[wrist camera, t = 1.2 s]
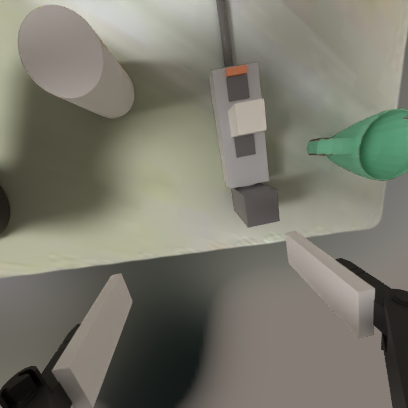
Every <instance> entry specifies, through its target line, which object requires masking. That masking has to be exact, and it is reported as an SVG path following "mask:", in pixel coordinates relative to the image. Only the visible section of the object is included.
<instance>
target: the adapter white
mask: <svg viewBox="0 0 408 408" xmlns="http://www.w3.org/2000/svg"><path fill="white" fill-rule="evenodd" d="M228 117H229V124H230V131H231V138H233V137H239V136H244V135H249V134H254V133H258V132H261V131H265V130H267V127H266V116H265V105H264V98H263V99H257V100H252V101H246V102H241V103H236V104H234V105H233V106H232V107H231V108H230V109H229V110H228Z"/></svg>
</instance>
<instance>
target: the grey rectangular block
mask: <svg viewBox="0 0 408 408" xmlns="http://www.w3.org/2000/svg"><path fill="white" fill-rule="evenodd" d="M231 191H232V198H233V204H234V211H235V212H236V213H237V214H238V216H239V217H240V218H241V219H242V220H243V222H244V223H245V224H246V225H247V227H252V226H257V225H262V224H267V223H272V222H277V221H280V219H279V207H278V195H277V189H274V188H272V187H269V186H267V185H264V184H262V183H256V184H251V185H246V186H241V187H236V188H231Z"/></svg>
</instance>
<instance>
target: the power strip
mask: <svg viewBox="0 0 408 408" xmlns="http://www.w3.org/2000/svg"><path fill="white" fill-rule="evenodd" d="M216 1H217V8H218V16H219V23H220V31H221V38H222V46H223V53H224V61H225V68H221V69H215V70H212V71H211V75H210V78H209V84H210V90H211V97H212V103H213V109H214V116H215V122H216V129H217V135H218V141H219V148H220V154H221V161H222V167H223V173H224V180H225V185H226V186H227V187H228V188H229V189H231V188H236V187H241V186H246V185H251V184H256V183H261V182H266V181H269V174H268V163H267V152H266V141H265V131H261V132H258V133H254V134H249V135H244V136H239V137H233V138H231V131H230V124H229V117H228V110H229V109H230V108H231V107H232V106H233V105H234V104H236V103H241V102H246V101H252V100H257V99H262V98H261V87H260V76H259V65H258V62H254V63H249V64H243V65H237V66H233V64H232V56H231V47H230V39H229V31H228V23H227V15H226V7H225V0H216Z"/></svg>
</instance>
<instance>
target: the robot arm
mask: <svg viewBox="0 0 408 408" xmlns="http://www.w3.org/2000/svg"><path fill="white" fill-rule="evenodd" d="M8 220H9V204H8V200H7V198H6V195H5V193H4V192H3V190H2V188H1V187H0V233H1V232H2V231H3V230H4V228H5V227H6V225H7V223H8ZM285 236H286V243H287V253H288V261H289V264H290V265H291V266H292V267H293V268H294V269H295V270H296V272H298V274H300V276H301V277H302V278H303V279H304V280H305V281H306V282H307V283H308V285H309V286H310V287H311V288H312V289H313V290H314V291H315V292H316V293H317V294H318V295H319V296H320V297H321V299H322V300H323V301H324V302H325V303H326V304H327V305H328V306H329V307H330V308H331V309H332V310H333V312H335V314H336V315H337V316H338V317H339V318H340V319H341V320H342V321H343V322H344V323H345V324H346V326H347V327H348V328H349V329H350V330H351V331H352V332H353V333H354V334H355V335H356V336H357V337H358V339H360V338H364V337H368V336H371V335H374V326H375V327H377V328H378V329H379V330H380V331H381V332H382V343H381V350H384V355H385V362H386V368H387V374H388V381H389V387H390V393H391V400H392V406H393V408H408V292H407V291H404V290H400V289H391V288H389V287H388V286H387V285H385V284H384V283H382V282H381V281H379V280H377V279H376V278H374V277H373V276H371V275H370V274H368V273H366V272H365V271H364V270H362V269H361V268H359V267H358V266H356V265H355V264H353V263H352V262H350V261H347V260H345V259H342V258H339V259H333V258H332V257H330V256H329V255H328V254H326V253H325V252H323V251H322V250H320V249H319V248H318V247H316V246H315V245H314V244H312V243H311V242H310V241H308V240H307V239H305V238H304V237H303V236H301V235H300V234H298V233H297V232H296V231H291V232H287V233H285ZM131 305H132V299H131V297H130V294H129V292H128V289H127V287H126V284H125V282H124V279H123V277H122V274H121V273H120V274H116V275H112V276H111V277H110V279H109V280H108V282H107V283H106V285H105V286H104V288H103V290H102V291H101V293H100V295H99V296H98V298H97V299H96V301H95V302H94V304H93V306H92V307H91V309H90V310H89V312H88V314H87V315H86V317H85V318H84V320H83V322H82V323H81V324H77V325H76V326H75V327H74V328H73V329H72V330H71V331H70V332H69V333H68V335H67V337H66V338H65V339H64V341H63V343H62V344H61V345H60V347H59V349H58V351H57V352H56V353H55V354H54V356H53V357H52V359H51V360H50V362H49V364H48V365H47V366H46V368H45V369H44V371H43V372H42V374H41V373H40V372H39V370H38V369H37V367H36V366H30V367H27V368H25V369H23V370H21V371H20V372H18V373H17V374H16V375H14V376H13V377H12V378H11V379H10V380H9V381H8V382H7V383H6V384H5V385H4V386H3V387H2V389H1V390H0V405H1V406H2V408H70V407H71V405H73V406H74V408H93V407H94V404H95V401H96V399H97V396H98V393H99V390H100V388H101V385H102V382H103V380H104V377H105V374H106V372H107V369H108V366H109V364H110V361H111V358H112V355H113V353H114V350H115V347H116V345H117V342H118V339H119V337H120V334H121V331H122V329H123V326H124V323H125V321H126V318H127V315H128V313H129V310H130V307H131Z"/></svg>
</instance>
